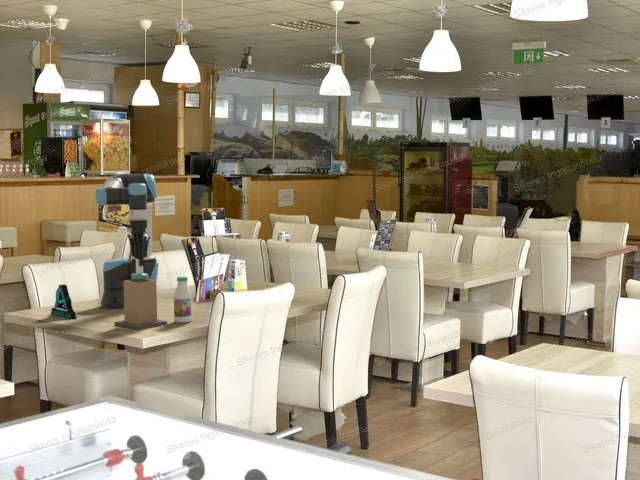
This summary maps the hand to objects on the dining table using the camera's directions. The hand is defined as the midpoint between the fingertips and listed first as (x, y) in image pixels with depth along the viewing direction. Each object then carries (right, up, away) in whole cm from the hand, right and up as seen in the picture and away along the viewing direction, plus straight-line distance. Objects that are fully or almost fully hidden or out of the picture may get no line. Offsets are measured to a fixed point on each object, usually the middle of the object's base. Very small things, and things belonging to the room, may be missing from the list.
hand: (139, 273), depth 388 cm
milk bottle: (+17, -22, +10) cm, 30 cm away
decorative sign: (-40, -21, +23) cm, 51 cm away
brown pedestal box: (0, -23, +2) cm, 23 cm away
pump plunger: (+1, -20, +1) cm, 20 cm away
